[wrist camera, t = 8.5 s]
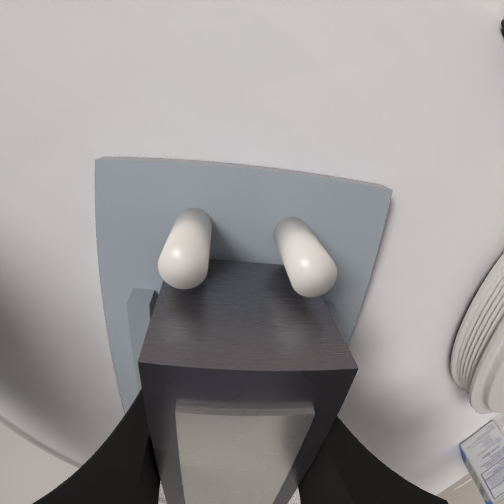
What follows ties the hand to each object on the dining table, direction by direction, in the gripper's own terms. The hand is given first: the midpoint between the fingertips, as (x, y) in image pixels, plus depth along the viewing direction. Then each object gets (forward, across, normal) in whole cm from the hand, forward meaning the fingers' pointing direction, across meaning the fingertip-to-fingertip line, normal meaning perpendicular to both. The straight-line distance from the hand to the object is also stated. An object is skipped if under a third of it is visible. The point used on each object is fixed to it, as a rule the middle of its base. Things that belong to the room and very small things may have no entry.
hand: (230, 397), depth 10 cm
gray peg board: (+3, 0, 0) cm, 3 cm away
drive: (+2, 0, 0) cm, 2 cm away
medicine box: (+3, -28, +16) cm, 32 cm away
